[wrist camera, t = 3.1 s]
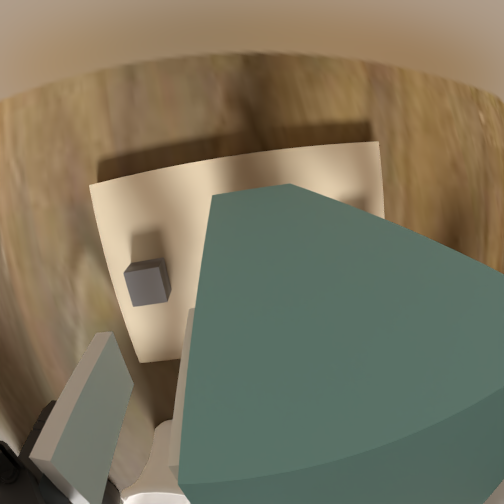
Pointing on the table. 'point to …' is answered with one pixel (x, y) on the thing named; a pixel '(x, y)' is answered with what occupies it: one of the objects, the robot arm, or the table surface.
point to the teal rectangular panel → (336, 361)
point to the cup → (156, 475)
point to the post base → (204, 225)
